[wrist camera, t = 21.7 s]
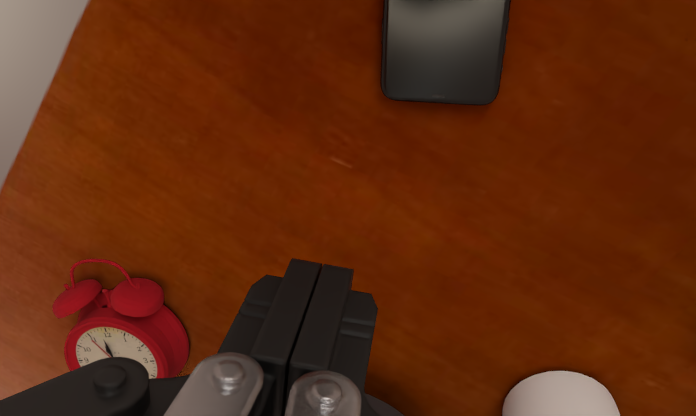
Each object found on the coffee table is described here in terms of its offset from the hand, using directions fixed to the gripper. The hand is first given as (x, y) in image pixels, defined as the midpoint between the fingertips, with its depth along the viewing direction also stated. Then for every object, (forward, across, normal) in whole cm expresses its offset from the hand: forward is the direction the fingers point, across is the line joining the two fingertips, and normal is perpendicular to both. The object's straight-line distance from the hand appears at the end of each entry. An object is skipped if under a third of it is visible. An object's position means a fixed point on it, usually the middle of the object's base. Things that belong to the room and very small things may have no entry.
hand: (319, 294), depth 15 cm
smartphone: (+29, -2, -4) cm, 29 cm away
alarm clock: (+29, +20, +28) cm, 45 cm away
